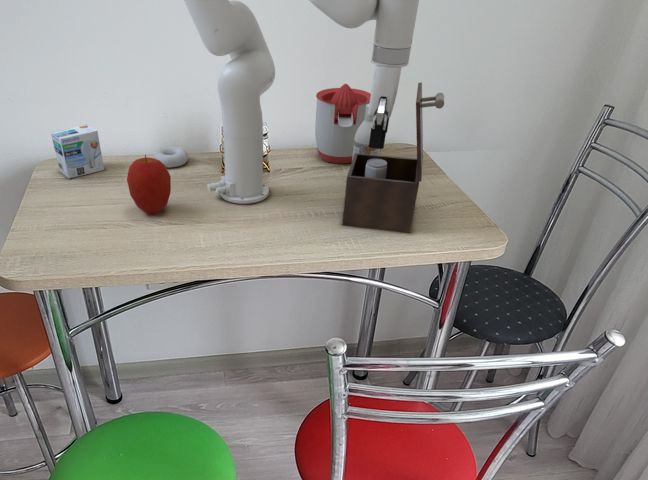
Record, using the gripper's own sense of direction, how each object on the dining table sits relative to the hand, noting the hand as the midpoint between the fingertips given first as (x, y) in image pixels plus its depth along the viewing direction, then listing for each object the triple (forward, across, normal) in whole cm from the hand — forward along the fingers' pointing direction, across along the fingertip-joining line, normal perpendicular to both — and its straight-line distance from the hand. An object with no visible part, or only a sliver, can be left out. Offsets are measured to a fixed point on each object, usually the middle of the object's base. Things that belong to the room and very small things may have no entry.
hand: (377, 139), depth 125 cm
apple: (+19, +11, -51) cm, 55 cm away
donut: (+19, -19, -57) cm, 63 cm away
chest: (+18, 0, +3) cm, 18 cm away
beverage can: (+17, 0, +1) cm, 17 cm away
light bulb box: (+20, -7, -79) cm, 82 cm away
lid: (-3, 0, +8) cm, 9 cm away
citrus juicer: (+18, -34, -11) cm, 40 cm away
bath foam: (+18, -17, -3) cm, 25 cm away
